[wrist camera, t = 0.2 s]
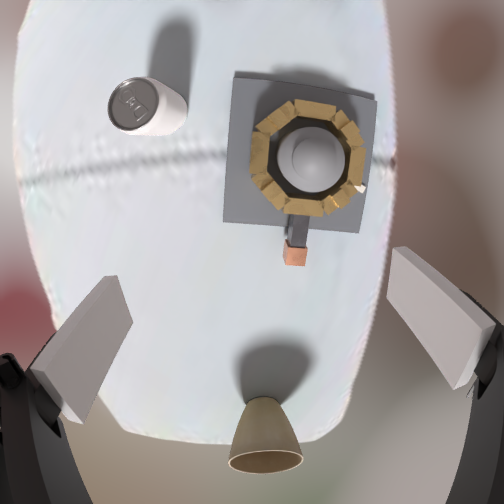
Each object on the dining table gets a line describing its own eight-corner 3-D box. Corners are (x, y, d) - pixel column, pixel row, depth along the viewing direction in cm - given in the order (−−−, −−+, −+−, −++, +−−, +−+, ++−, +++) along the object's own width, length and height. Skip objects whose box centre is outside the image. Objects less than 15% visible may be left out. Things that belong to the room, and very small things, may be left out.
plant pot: (217, 400, 55) (212, 460, 40) (273, 378, 52) (280, 443, 37) (253, 426, 60) (255, 478, 46) (305, 407, 57) (315, 462, 42)
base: (233, 79, 31) (230, 64, 24) (373, 102, 32) (401, 96, 25) (223, 219, 39) (218, 239, 31) (355, 230, 40) (377, 251, 33)
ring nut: (255, 98, 31) (256, 93, 26) (359, 115, 31) (373, 113, 27) (242, 252, 39) (242, 266, 35) (337, 258, 39) (346, 272, 35)
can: (171, 82, 31) (140, 61, 20) (197, 115, 33) (175, 104, 22) (135, 112, 32) (93, 105, 21) (161, 144, 34) (126, 148, 23)
